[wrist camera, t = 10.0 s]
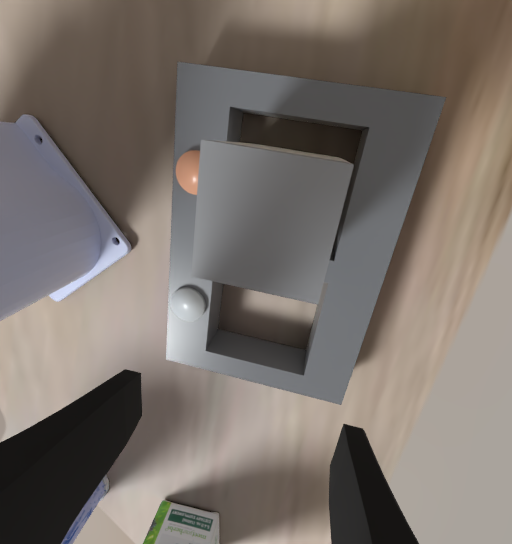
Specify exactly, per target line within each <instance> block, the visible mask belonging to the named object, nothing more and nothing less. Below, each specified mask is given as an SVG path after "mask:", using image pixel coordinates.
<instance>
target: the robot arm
mask: <svg viewBox="0 0 512 544" xmlns="http://www.w3.org/2000/svg"><path fill="white" fill-rule="evenodd" d="M40 137H41V138H42V141H43V142H42V143H41V141H40ZM116 237H117V238H118V239H119V241H120V243H118V242H117V241H116ZM130 251H131V245H130V243H129V241H128V240H127V239H126V237H125V236H124V235H123V233H122V232H121V231H120V229H119V228H118V227H117V225H116V224H115V223H114V221H113V220H112V219H111V217H110V216H109V215H108V213H107V212H106V211H105V209H104V208H103V207H102V205H101V204H100V203H99V201H98V200H97V199H96V197H95V196H94V195H93V193H92V192H91V191H90V189H89V188H88V187H87V185H86V184H85V183H84V181H83V180H82V179H81V177H80V176H79V175H78V174H77V172H76V171H75V170H74V168H73V167H72V166H71V164H70V163H69V162H68V160H67V159H66V158H65V156H64V155H63V154H62V152H61V151H60V150H59V148H58V147H57V146H56V144H55V143H54V142H53V140H52V139H51V138H50V136H49V135H48V134H47V132H46V131H45V130H44V128H43V127H42V126H41V124H40V123H39V122H38V120H37V119H36V118H35V117H34V116H32V115H27V114H23V115H22V116H21V117H20V118H19V119H18V120H17V121H16V122H15V123H11V122H0V321H1V320H3V319H5V318H7V317H9V316H11V315H12V314H14V313H16V312H18V311H20V310H22V309H24V308H25V307H27V306H29V305H31V304H33V303H35V302H37V301H38V300H40V299H42V298H44V297H46V296H48V295H49V296H50V297H51V298H52V299H53V300H55V301H61V300H63V299H64V298H66V297H67V296H69V295H70V294H71V293H73V292H74V291H76V290H77V289H78V288H80V287H81V286H83V285H84V284H86V283H87V282H88V281H90V280H91V279H93V278H94V277H95V276H97V275H98V274H100V273H101V272H103V271H104V270H105V269H107V268H108V267H110V266H111V265H112V264H114V263H115V262H117V261H118V260H120V259H121V258H122V257H124V256H125V255H127V254H128V253H129V252H130ZM141 416H142V399H141V373H138V372H134V371H130V370H126V369H125V370H123V371H122V372H120V373H119V374H117V375H115V376H114V377H112V378H111V379H109V380H107V381H106V382H104V383H103V384H101V385H100V386H98V387H96V388H95V389H93V390H92V391H90V392H89V393H87V394H85V395H84V396H82V397H81V398H79V399H77V400H76V401H74V402H72V403H71V404H69V405H68V406H66V407H64V408H63V409H61V410H59V411H58V412H56V413H54V414H52V415H51V416H49V417H47V418H45V419H44V420H42V421H40V422H38V423H37V424H35V425H33V426H31V427H30V428H28V429H26V430H24V431H22V432H20V433H18V434H16V435H15V436H13V437H11V438H9V439H7V440H5V441H3V442H1V443H0V544H61V543H62V541H63V539H64V538H65V536H66V534H67V532H68V531H69V529H70V527H71V526H72V524H73V522H74V521H75V519H76V518H77V516H78V515H79V513H80V511H81V510H82V508H83V507H84V505H85V504H86V503H87V501H88V500H89V498H90V497H91V495H92V494H93V492H94V491H95V489H96V488H97V487H98V485H99V484H100V482H101V481H102V479H103V478H104V476H105V475H106V474H107V472H108V471H109V469H110V468H111V466H112V465H113V463H114V462H115V460H116V459H117V457H118V456H119V454H120V453H121V452H122V450H123V449H124V447H125V446H126V444H127V442H128V440H129V439H130V437H131V435H132V433H133V431H134V430H135V428H136V426H137V424H138V422H139V420H140V418H141ZM329 510H330V526H331V541H332V544H419V543H418V541H417V539H416V537H415V535H414V534H413V532H412V530H411V528H410V527H409V525H408V523H407V521H406V519H405V517H404V515H403V513H402V511H401V509H400V507H399V505H398V503H397V501H396V499H395V498H394V495H393V493H392V491H391V489H390V487H389V485H388V483H387V481H386V479H385V477H384V475H383V473H382V470H381V468H380V466H379V464H378V462H377V459H376V457H375V455H374V453H373V450H372V448H371V446H370V443H369V441H368V438H367V436H366V433H365V431H364V430H363V429H362V428H358V427H354V426H350V425H346V424H343V427H342V430H341V434H340V437H339V440H338V443H337V446H336V449H335V452H334V455H333V458H332V461H331V465H330V481H329Z"/></svg>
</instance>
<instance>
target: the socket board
mask: <svg viewBox="0 0 512 544" xmlns="http://www.w3.org/2000/svg"><path fill="white" fill-rule="evenodd" d="M445 99H446V97H440V96H433V95H425V94H418V93H410V92H403V91H395V90H388V89H380V88H373V87H365V86H358V85H350V84H342V83H335V82H327V81H320V80H312V79H305V78H297V77H290V76H282V75H275V74H267V73H259V72H252V71H244V70H237V69H229V68H222V67H214V66H207V65H199V64H192V63H184V62H178V64H177V90H176V116H175V142H174V168H173V194H172V220H171V245H170V271H169V297H168V323H167V349H166V360H170V361H174V362H178V363H182V364H186V365H189V366H193V367H197V368H201V369H205V370H209V371H212V372H216V373H220V374H224V375H228V376H232V377H236V378H239V379H243V380H247V381H251V382H255V383H259V384H263V385H266V386H270V387H274V388H278V389H282V390H286V391H290V392H293V393H297V394H301V395H305V396H309V397H313V398H317V399H320V400H324V401H328V402H332V403H336V404H340V405H341V404H342V401H343V398H344V395H345V392H346V389H347V386H348V383H349V380H350V377H351V374H352V372H353V369H354V366H355V363H356V360H357V357H358V354H359V351H360V348H361V345H362V342H363V339H364V336H365V333H366V331H367V328H368V325H369V322H370V319H371V316H372V313H373V310H374V307H375V304H376V301H377V298H378V295H379V293H380V290H381V287H382V284H383V281H384V278H385V275H386V272H387V269H388V266H389V263H390V260H391V257H392V254H393V252H394V249H395V246H396V243H397V240H398V237H399V234H400V231H401V228H402V225H403V222H404V219H405V216H406V213H407V211H408V208H409V205H410V202H411V199H412V196H413V193H414V190H415V187H416V184H417V181H418V178H419V175H420V173H421V170H422V167H423V164H424V161H425V158H426V155H427V152H428V149H429V146H430V143H431V140H432V137H433V134H434V132H435V129H436V126H437V123H438V120H439V117H440V114H441V111H442V108H443V105H444V102H445ZM243 113H250V114H256V115H263V116H270V117H276V118H283V119H290V120H296V121H303V122H310V123H316V124H323V125H330V126H336V127H343V128H350V129H356V130H362V134H361V138H360V142H359V146H358V150H357V154H356V157H355V161H354V167H353V171H352V175H351V178H350V182H349V186H348V190H347V194H346V198H345V202H344V206H343V210H342V213H341V217H340V221H339V225H338V229H337V233H336V237H335V241H334V244H333V248H332V252H331V256H330V260H329V264H328V268H327V272H326V276H325V279H324V283H323V287H322V291H321V295H320V299H319V303H318V305H317V309H316V313H315V317H314V321H313V325H312V328H311V332H310V336H309V340H308V344H307V348H306V350H303V349H299V348H295V347H291V346H286V345H282V344H278V343H274V342H270V341H266V340H262V339H257V338H253V337H249V336H245V335H241V334H237V333H233V332H228V331H224V330H220V329H218V326H219V317H220V309H221V300H222V291H223V283H218V282H214V281H209V280H205V279H200V278H196V277H191V274H192V260H193V245H194V231H195V217H196V202H197V188H198V174H199V159H200V145H201V140H214V141H227V142H240V136H241V127H242V119H243Z"/></svg>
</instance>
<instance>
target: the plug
mask: <svg viewBox="0 0 512 544" xmlns="http://www.w3.org/2000/svg"><path fill="white" fill-rule="evenodd" d="M353 167H354V164H352V163H350V162H348V161H346V160H344V159H342V158H340V157H335V156H329V155H323V154H317V153H310V152H304V151H298V150H292V149H286V148H279V147H273V146H267V145H261V144H254V143H241V142H227V141H214V140H201V145H200V159H199V174H198V188H197V202H196V217H195V231H194V245H193V260H192V274H191V277H196V278H200V279H205V280H209V281H214V282H218V283H223V284H227V285H232V286H236V287H241V288H245V289H250V290H254V291H259V292H263V293H268V294H272V295H277V296H281V297H286V298H290V299H295V300H299V301H304V302H308V303H313V304H317V305H318V303H319V299H320V295H321V291H322V287H323V283H324V279H325V276H326V272H327V268H328V264H329V260H330V256H331V252H332V248H333V244H334V241H335V237H336V233H337V229H338V225H339V221H340V217H341V213H342V210H343V206H344V202H345V198H346V194H347V190H348V186H349V182H350V178H351V175H352V171H353Z"/></svg>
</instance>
